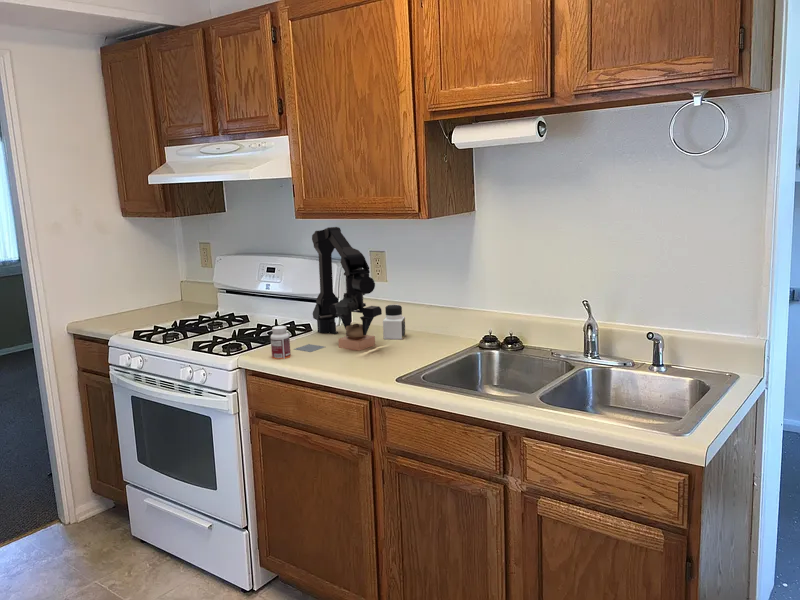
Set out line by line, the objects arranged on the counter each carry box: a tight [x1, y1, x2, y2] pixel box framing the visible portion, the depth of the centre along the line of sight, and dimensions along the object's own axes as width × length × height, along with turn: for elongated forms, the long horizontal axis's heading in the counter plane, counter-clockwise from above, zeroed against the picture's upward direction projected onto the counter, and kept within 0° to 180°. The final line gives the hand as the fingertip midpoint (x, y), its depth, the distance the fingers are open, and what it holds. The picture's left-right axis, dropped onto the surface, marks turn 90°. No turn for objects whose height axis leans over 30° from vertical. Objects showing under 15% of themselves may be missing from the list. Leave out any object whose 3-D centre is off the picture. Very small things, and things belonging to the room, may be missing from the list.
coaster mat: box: [293, 343, 325, 353], centre depth 244 cm, size 8×8×1 cm
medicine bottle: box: [382, 304, 406, 340], centre depth 259 cm, size 7×7×12 cm
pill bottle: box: [270, 325, 292, 360], centre depth 233 cm, size 6×6×11 cm
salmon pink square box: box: [337, 334, 376, 352], centre depth 244 cm, size 9×9×4 cm
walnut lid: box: [345, 323, 367, 337], centre depth 243 cm, size 7×7×4 cm
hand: (356, 333), depth 244 cm, fingers closed on walnut lid, 7 cm apart
